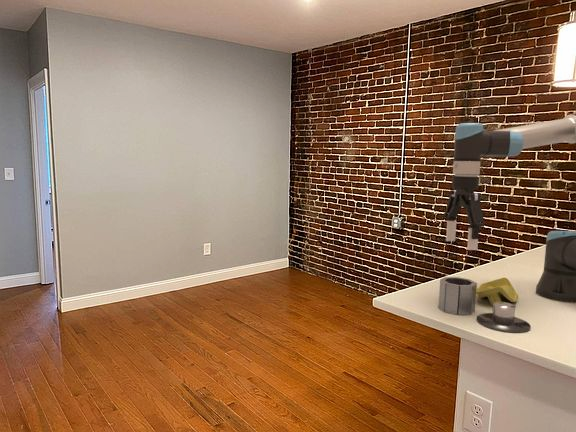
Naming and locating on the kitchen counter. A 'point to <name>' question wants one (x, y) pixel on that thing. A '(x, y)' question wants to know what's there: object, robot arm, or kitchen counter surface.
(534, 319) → the kitchen counter surface
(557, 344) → the kitchen counter surface
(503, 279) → the plastic component
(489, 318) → the duct stub
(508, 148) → the robot arm
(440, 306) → the collar
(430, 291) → the kitchen counter surface
